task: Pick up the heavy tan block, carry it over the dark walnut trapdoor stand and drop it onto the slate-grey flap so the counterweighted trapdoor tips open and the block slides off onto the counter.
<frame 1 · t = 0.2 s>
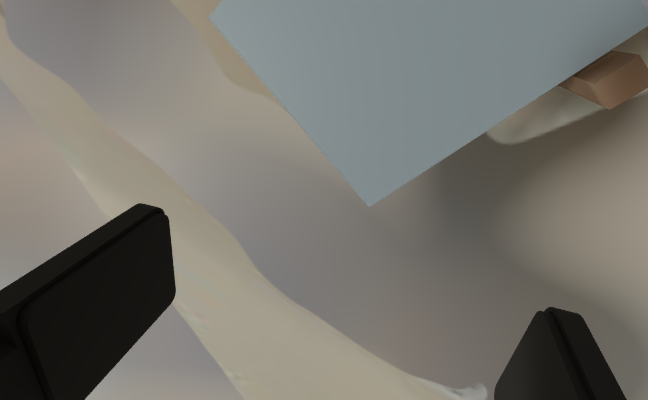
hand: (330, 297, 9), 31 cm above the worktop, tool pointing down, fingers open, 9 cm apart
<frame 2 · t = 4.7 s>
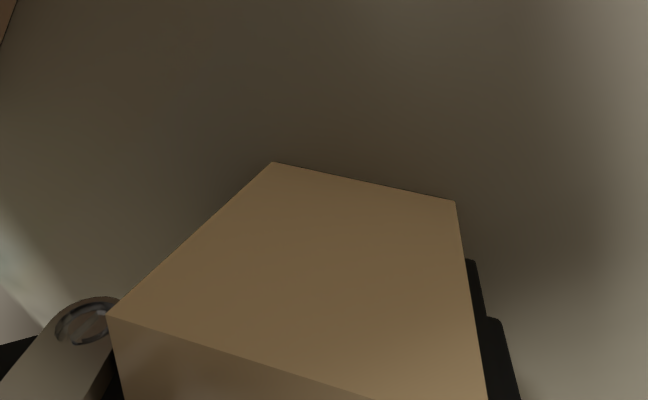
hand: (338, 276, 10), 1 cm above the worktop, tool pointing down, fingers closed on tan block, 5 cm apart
tan block: (345, 255, 11), on the worktop, touching gripper
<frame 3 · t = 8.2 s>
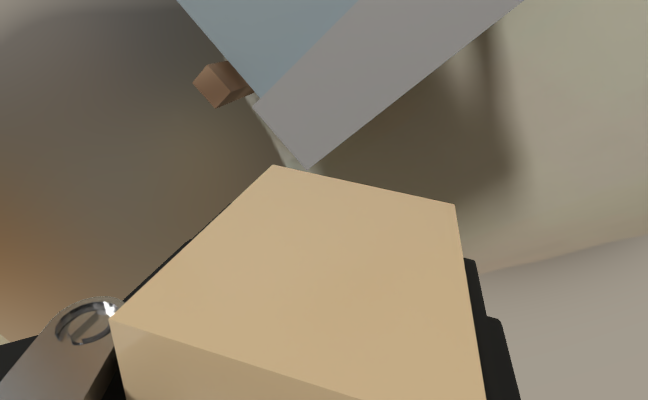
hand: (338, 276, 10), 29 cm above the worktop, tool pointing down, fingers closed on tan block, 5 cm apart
tan block: (345, 257, 11), point 28 cm above the worktop, touching gripper
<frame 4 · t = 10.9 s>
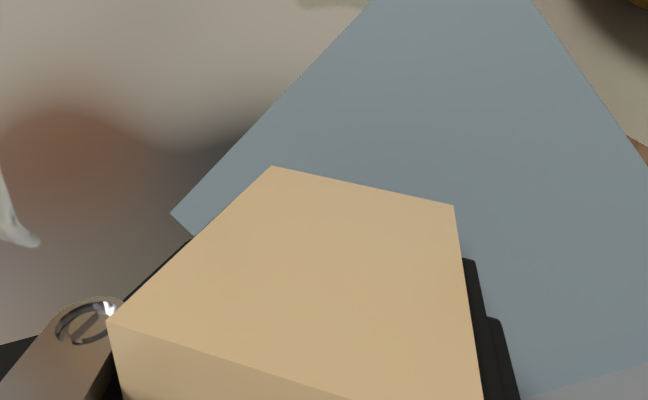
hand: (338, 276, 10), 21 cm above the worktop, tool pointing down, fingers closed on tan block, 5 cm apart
trapdoor: (456, 294, 16), point 15 cm above the worktop, hinge at 0.0°
tan block: (344, 258, 11), point 20 cm above the worktop, touching gripper
when the fingers open (19 cm above the worktop, at t = 12.0 s): tan block drops 15 cm and tips over, point 3 cm above the worktop.
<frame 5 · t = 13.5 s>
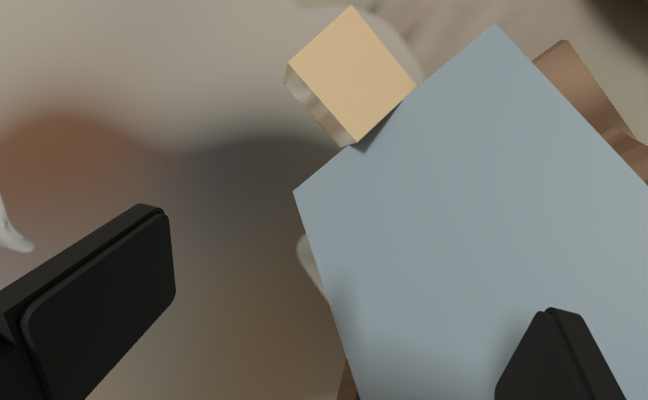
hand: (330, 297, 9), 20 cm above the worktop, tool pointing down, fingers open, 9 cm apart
trapdoor stand: (473, 211, 28), on the worktop
trapdoor: (470, 290, 17), point 12 cm above the worktop, hinge at -44.6°
tan block: (374, 119, 24), point 3 cm above the worktop, tilted 90°
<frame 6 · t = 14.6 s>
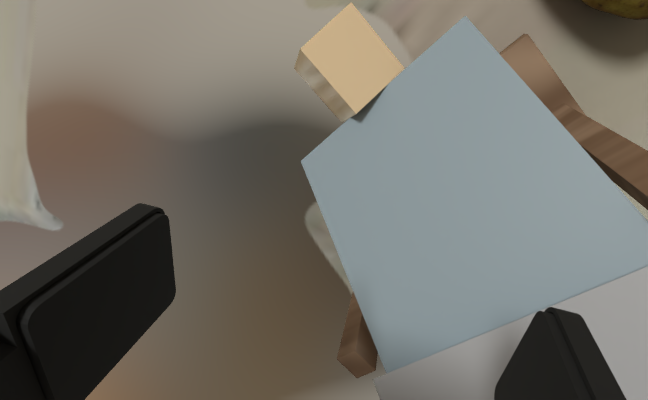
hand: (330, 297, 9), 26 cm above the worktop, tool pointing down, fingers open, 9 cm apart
trapdoor stand: (456, 180, 34), on the worktop
trapdoor: (448, 226, 22), point 12 cm above the worktop, hinge at -42.7°, touching tan block
tan block: (370, 97, 29), point 3 cm above the worktop, tilted 90°, touching trapdoor
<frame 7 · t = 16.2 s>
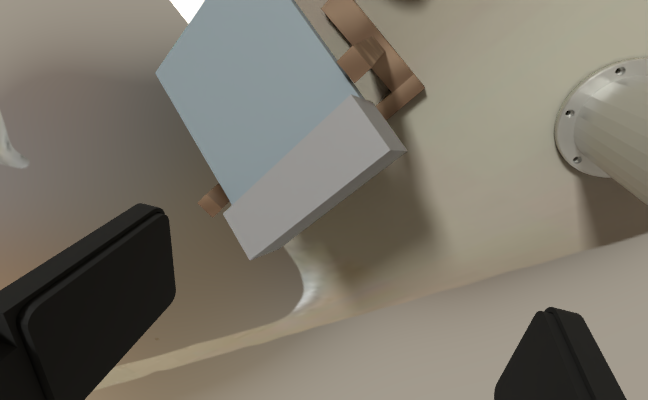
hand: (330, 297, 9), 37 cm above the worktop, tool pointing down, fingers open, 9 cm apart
trapdoor stand: (317, 103, 45), on the worktop
trapdoor: (258, 105, 32), point 13 cm above the worktop, hinge at -24.4°
tan block: (228, 35, 39), point 4 cm above the worktop, tilted 98°
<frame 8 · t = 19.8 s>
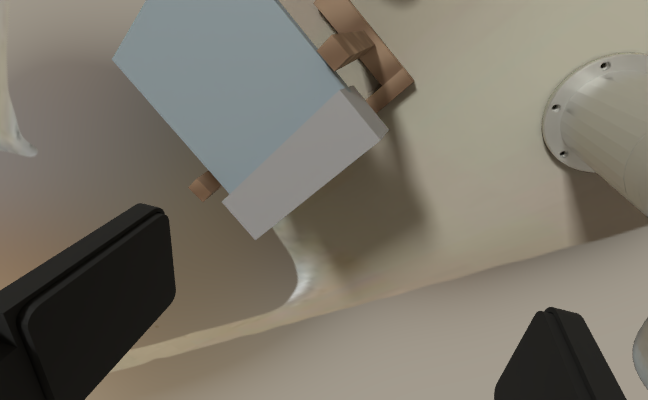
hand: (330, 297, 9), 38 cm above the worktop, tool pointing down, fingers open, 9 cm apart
trapdoor stand: (311, 96, 46), on the worktop
trapdoor: (239, 93, 33), point 15 cm above the worktop, hinge at -5.6°
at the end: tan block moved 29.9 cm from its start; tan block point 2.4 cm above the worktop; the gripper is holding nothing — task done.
